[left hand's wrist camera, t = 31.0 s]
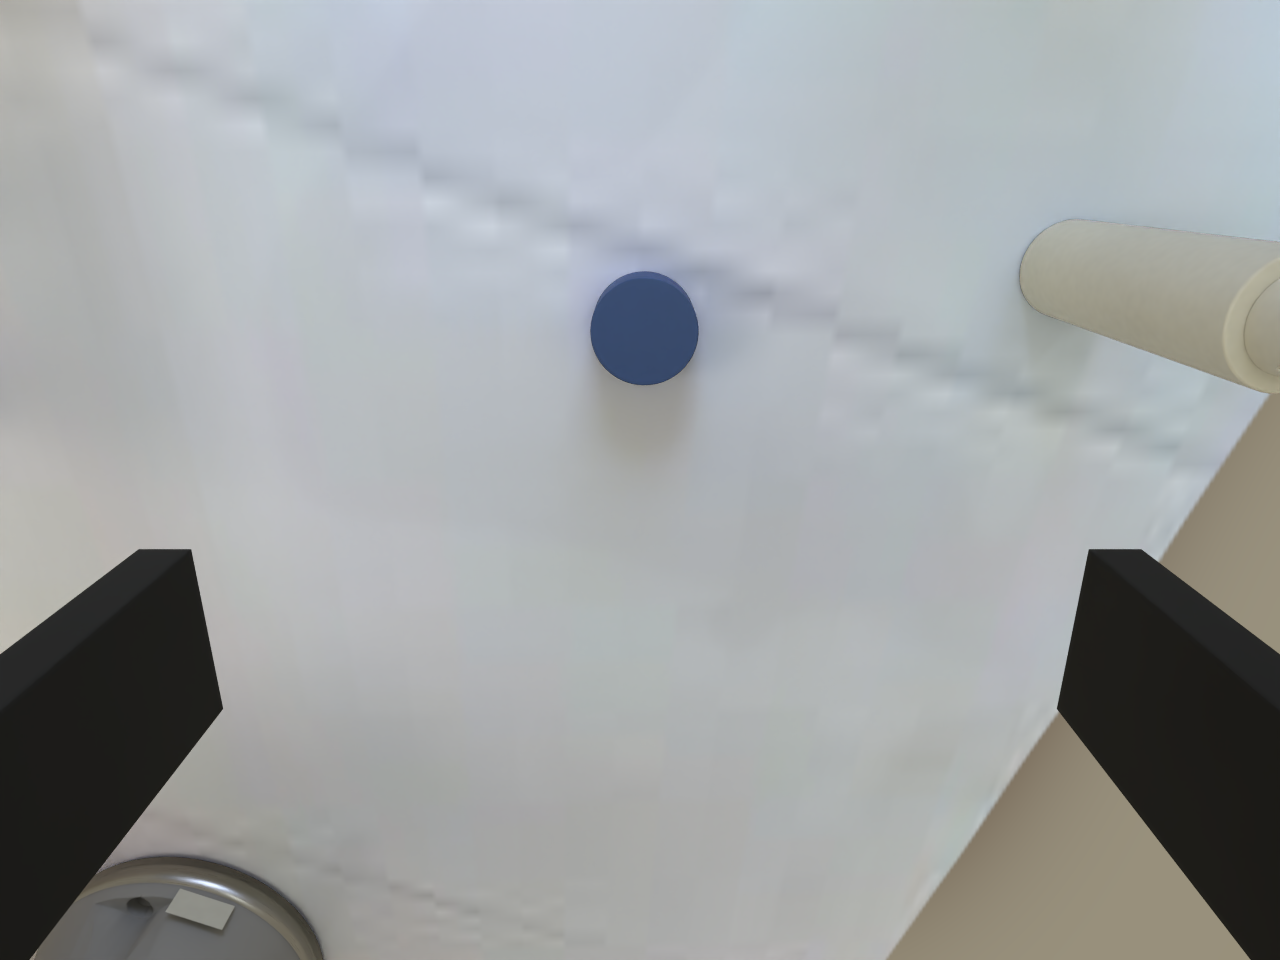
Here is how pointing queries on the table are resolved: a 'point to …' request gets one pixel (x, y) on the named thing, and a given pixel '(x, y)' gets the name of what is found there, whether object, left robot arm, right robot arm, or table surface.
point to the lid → (644, 328)
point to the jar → (1165, 294)
